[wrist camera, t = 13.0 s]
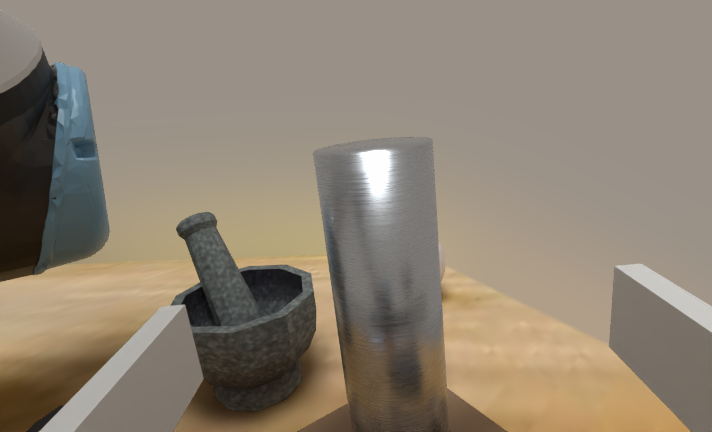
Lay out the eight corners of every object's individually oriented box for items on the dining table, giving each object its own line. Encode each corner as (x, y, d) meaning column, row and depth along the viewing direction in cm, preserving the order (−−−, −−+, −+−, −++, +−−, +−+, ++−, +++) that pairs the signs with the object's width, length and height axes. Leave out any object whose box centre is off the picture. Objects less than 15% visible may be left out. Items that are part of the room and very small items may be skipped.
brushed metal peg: (346, 499, 19) (293, 152, 14) (413, 453, 21) (384, 136, 16) (400, 577, 16) (354, 159, 11) (473, 514, 18) (458, 138, 13)
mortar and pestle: (354, 372, 29) (333, 210, 26) (236, 460, 23) (189, 262, 20) (266, 324, 37) (241, 195, 34) (161, 379, 31) (118, 228, 27)
